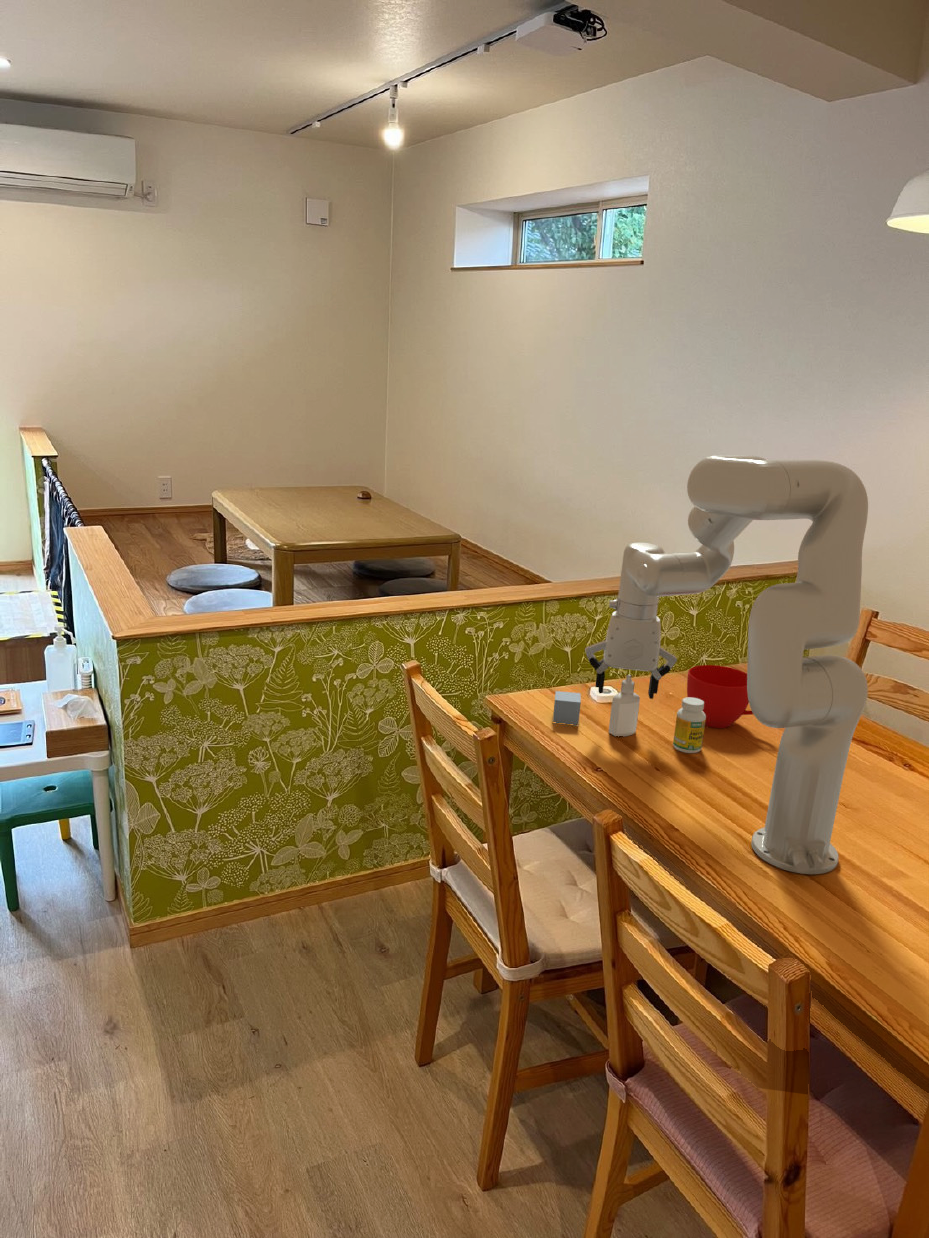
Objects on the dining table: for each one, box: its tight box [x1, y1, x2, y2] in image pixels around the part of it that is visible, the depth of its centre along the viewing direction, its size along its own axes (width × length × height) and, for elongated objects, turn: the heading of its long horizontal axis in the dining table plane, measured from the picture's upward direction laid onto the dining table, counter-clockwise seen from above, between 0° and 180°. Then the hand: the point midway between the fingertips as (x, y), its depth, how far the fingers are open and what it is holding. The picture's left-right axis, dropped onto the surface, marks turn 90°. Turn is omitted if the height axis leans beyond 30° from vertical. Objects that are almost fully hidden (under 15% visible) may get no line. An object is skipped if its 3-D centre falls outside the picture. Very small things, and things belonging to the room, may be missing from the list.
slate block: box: [552, 690, 582, 726], centre depth 189 cm, size 5×5×5 cm
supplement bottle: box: [672, 696, 706, 754], centre depth 179 cm, size 5×5×10 cm
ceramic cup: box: [686, 664, 754, 729], centre depth 191 cm, size 13×17×10 cm
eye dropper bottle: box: [608, 674, 641, 738], centre depth 183 cm, size 4×6×12 cm
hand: (625, 693), depth 183 cm, fingers open, 9 cm apart
